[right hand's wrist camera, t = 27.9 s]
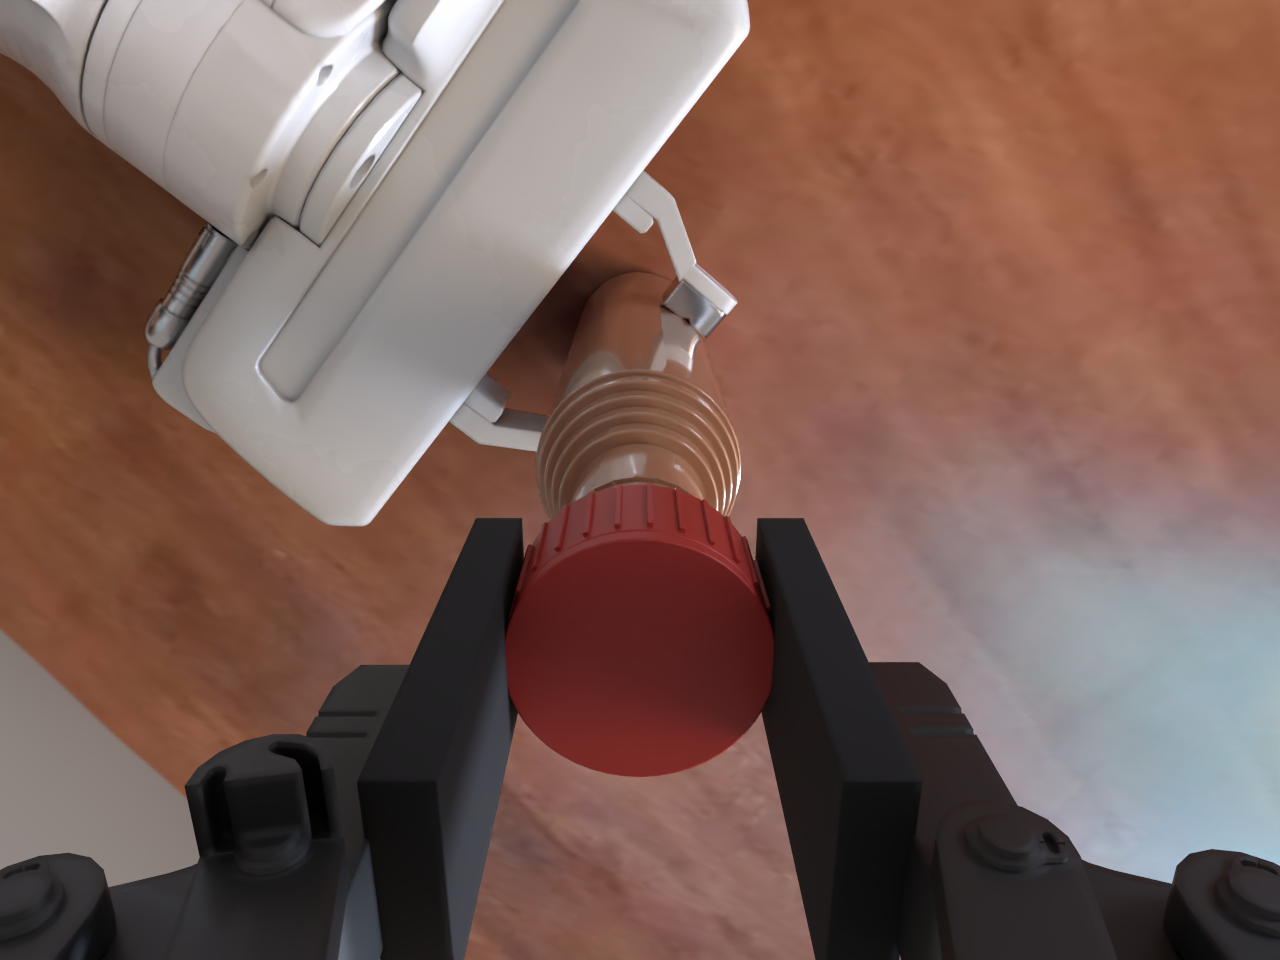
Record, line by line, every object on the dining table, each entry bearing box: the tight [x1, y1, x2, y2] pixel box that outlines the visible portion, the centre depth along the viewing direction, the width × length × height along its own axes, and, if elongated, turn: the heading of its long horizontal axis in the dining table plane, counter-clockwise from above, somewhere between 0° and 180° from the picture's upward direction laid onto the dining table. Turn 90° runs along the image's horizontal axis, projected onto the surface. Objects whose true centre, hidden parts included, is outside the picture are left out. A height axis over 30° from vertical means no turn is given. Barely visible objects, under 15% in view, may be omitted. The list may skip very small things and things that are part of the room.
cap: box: [505, 483, 774, 777], centre depth 14 cm, size 4×4×2 cm
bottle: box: [536, 272, 741, 520], centre depth 25 cm, size 5×5×20 cm
